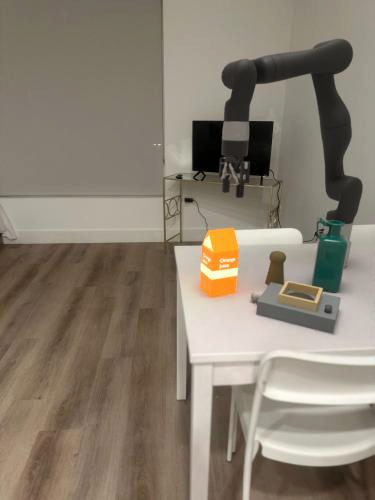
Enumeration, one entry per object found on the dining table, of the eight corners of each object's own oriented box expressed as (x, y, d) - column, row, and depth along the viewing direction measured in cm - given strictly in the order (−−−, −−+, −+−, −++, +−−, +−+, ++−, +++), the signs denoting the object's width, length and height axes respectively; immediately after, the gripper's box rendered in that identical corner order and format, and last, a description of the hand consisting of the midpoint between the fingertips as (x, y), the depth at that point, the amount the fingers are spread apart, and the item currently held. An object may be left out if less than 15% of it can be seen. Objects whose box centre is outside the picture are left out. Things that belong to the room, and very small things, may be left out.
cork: (284, 288, 115) (288, 256, 112) (265, 286, 116) (268, 254, 113) (283, 280, 121) (287, 250, 117) (265, 278, 122) (268, 248, 118)
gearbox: (338, 309, 103) (342, 289, 101) (332, 333, 91) (336, 311, 89) (258, 291, 113) (260, 272, 111) (243, 310, 101) (245, 290, 99)
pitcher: (338, 283, 120) (350, 219, 113) (339, 293, 113) (352, 226, 105) (307, 278, 123) (317, 216, 115) (306, 288, 115) (317, 222, 108)
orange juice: (199, 287, 115) (202, 227, 108) (224, 283, 118) (227, 224, 111) (210, 298, 108) (214, 234, 101) (236, 293, 111) (241, 231, 104)
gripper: (260, 139, 98) (255, 198, 103) (234, 137, 110) (231, 190, 116) (236, 140, 95) (232, 200, 101) (212, 137, 108) (210, 191, 113)
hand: (232, 194), depth 108 cm, fingers open, 8 cm apart
